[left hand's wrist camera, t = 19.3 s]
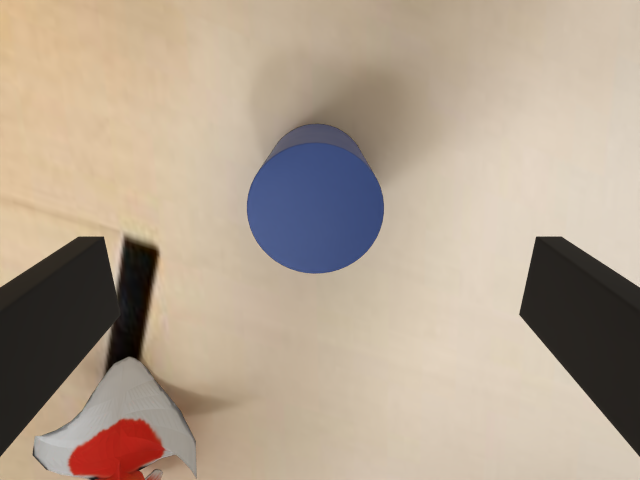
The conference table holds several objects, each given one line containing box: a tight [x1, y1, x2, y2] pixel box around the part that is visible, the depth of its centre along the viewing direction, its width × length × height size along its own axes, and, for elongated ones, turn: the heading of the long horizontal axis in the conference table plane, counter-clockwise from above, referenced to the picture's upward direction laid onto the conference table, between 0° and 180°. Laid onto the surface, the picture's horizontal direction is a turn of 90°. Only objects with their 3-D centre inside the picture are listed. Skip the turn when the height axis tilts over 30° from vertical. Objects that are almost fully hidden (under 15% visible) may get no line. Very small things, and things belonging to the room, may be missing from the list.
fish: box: [33, 357, 197, 480], centre depth 30 cm, size 11×16×10 cm
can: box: [247, 124, 384, 273], centre depth 22 cm, size 6×6×8 cm
